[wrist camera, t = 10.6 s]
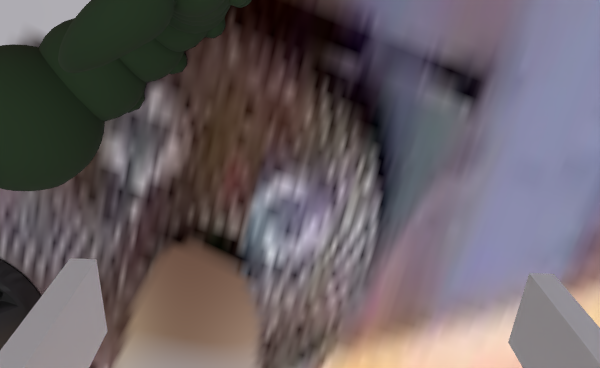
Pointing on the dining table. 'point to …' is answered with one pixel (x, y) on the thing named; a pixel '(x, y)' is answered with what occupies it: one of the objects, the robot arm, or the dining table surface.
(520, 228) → the dining table surface
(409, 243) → the dining table surface
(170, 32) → the toy figurine
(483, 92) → the dining table surface
